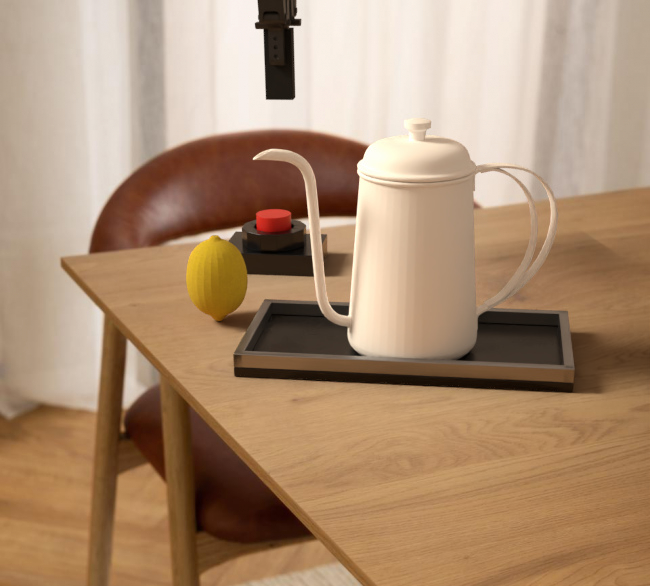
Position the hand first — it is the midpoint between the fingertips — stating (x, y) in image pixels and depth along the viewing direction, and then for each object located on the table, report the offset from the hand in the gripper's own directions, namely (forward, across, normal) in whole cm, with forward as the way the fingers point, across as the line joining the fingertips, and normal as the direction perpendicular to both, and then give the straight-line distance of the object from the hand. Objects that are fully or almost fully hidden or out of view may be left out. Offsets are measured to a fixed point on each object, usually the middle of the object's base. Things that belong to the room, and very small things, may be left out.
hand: (280, 98), depth 117 cm
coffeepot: (+16, +25, +15) cm, 33 cm away
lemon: (+17, +18, -3) cm, 25 cm away
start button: (+13, 0, -1) cm, 13 cm away
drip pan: (+17, +24, +15) cm, 33 cm away
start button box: (+17, 0, -1) cm, 17 cm away
